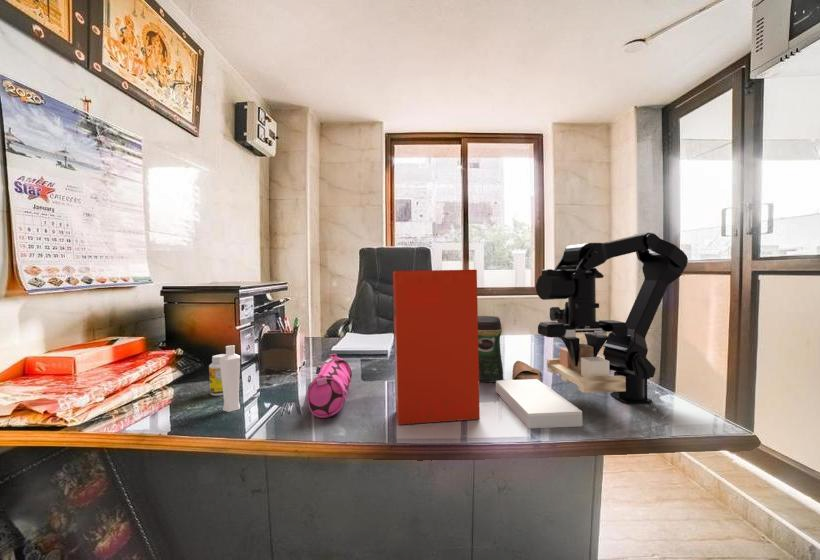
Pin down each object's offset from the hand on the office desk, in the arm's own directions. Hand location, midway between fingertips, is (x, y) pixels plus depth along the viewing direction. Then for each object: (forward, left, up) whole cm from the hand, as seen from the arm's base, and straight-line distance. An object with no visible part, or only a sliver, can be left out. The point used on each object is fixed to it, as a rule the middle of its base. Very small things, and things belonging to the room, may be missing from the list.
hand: (582, 365), depth 82 cm
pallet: (0, 0, -3) cm, 3 cm away
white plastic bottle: (+82, -7, -10) cm, 83 cm away
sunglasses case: (+5, -21, -10) cm, 24 cm away
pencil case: (+59, -9, -10) cm, 61 cm away
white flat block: (+11, 0, -9) cm, 15 cm away
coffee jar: (+16, -23, -10) cm, 30 cm away
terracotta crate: (0, -5, -1) cm, 5 cm away
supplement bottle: (+90, -19, -10) cm, 93 cm away
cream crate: (0, +5, -1) cm, 5 cm away
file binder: (+34, +2, -10) cm, 36 cm away
